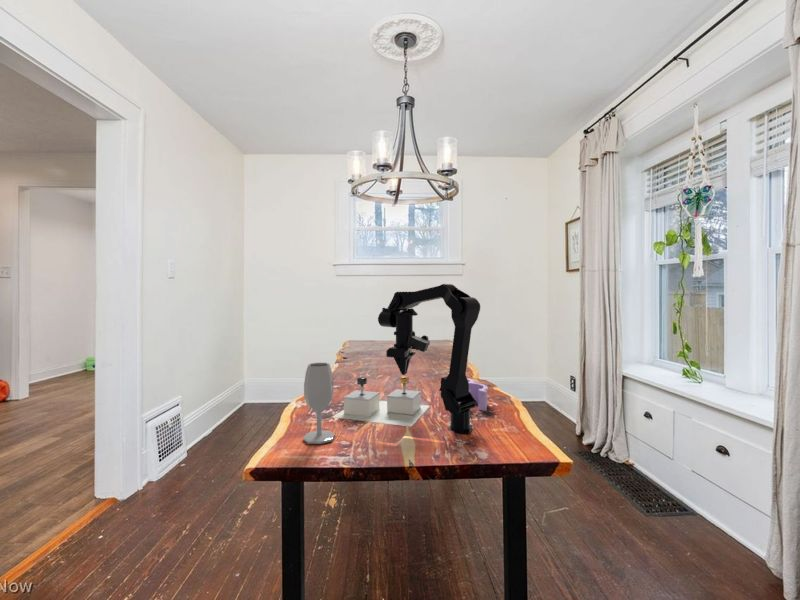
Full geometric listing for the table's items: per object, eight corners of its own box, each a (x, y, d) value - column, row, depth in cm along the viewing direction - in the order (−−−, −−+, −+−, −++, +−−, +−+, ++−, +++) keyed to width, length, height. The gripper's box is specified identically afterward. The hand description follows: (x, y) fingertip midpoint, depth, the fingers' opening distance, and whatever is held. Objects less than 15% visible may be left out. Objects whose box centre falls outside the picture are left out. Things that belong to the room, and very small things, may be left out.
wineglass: (303, 446, 102) (302, 368, 101) (302, 434, 110) (302, 362, 110) (336, 443, 104) (336, 366, 103) (333, 431, 112) (333, 360, 112)
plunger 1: (367, 403, 124) (367, 381, 124) (347, 401, 127) (347, 379, 126) (376, 397, 131) (375, 376, 131) (357, 395, 133) (356, 375, 133)
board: (411, 428, 115) (411, 426, 115) (331, 418, 124) (331, 416, 124) (430, 407, 136) (430, 405, 136) (360, 400, 145) (360, 398, 145)
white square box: (412, 415, 125) (412, 398, 124) (387, 413, 128) (387, 395, 127) (421, 406, 134) (421, 390, 134) (397, 404, 137) (397, 388, 137)
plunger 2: (411, 401, 126) (411, 380, 125) (390, 399, 128) (390, 378, 128) (417, 396, 132) (417, 375, 132) (397, 394, 135) (397, 374, 135)
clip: (444, 396, 150) (444, 378, 150) (475, 395, 152) (475, 377, 152) (458, 412, 131) (458, 392, 130) (493, 411, 132) (493, 391, 132)
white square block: (368, 417, 123) (368, 399, 123) (343, 414, 126) (343, 397, 126) (381, 407, 133) (380, 391, 133) (357, 405, 136) (357, 389, 136)
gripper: (419, 332, 118) (419, 382, 119) (434, 326, 136) (434, 370, 136) (385, 331, 122) (385, 379, 122) (404, 325, 139) (404, 368, 140)
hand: (404, 374), depth 130 cm, fingers closed
